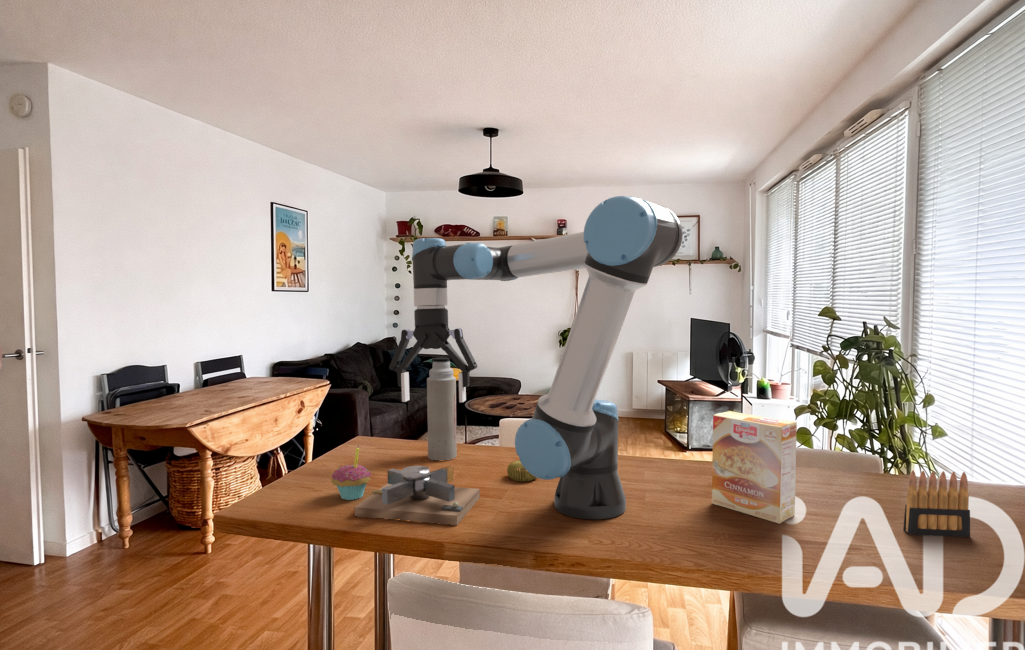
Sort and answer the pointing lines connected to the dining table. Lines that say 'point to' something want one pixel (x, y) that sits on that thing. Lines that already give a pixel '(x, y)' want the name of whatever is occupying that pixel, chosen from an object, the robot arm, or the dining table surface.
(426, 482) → the capstan
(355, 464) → the cupcake
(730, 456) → the coffeecake box
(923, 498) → the ammunition clip
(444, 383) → the thermos bottle
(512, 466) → the sculpture
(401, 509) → the stand
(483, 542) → the dining table surface
